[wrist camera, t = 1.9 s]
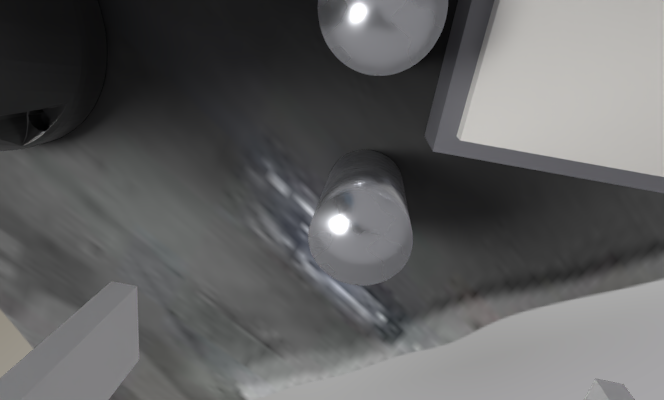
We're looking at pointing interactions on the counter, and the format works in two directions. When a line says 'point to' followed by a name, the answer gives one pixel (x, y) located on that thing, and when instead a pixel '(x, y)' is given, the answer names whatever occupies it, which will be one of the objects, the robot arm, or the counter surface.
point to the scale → (556, 88)
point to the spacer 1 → (381, 32)
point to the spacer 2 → (362, 220)
